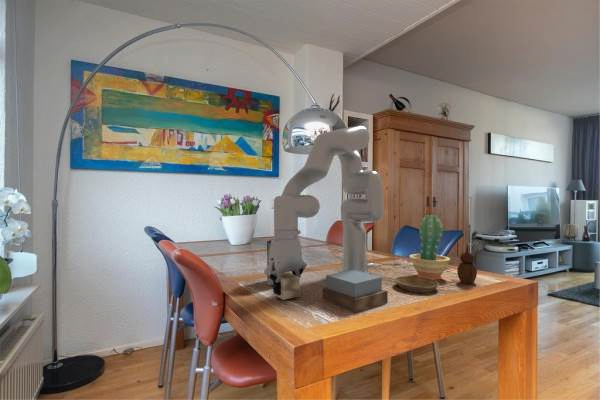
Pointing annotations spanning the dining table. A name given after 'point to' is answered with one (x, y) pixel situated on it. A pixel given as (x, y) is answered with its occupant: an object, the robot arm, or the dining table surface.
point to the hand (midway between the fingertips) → (286, 291)
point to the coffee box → (269, 281)
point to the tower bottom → (355, 299)
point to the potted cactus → (430, 249)
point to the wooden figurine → (467, 268)
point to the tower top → (354, 283)
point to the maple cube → (289, 286)
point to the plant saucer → (416, 284)
